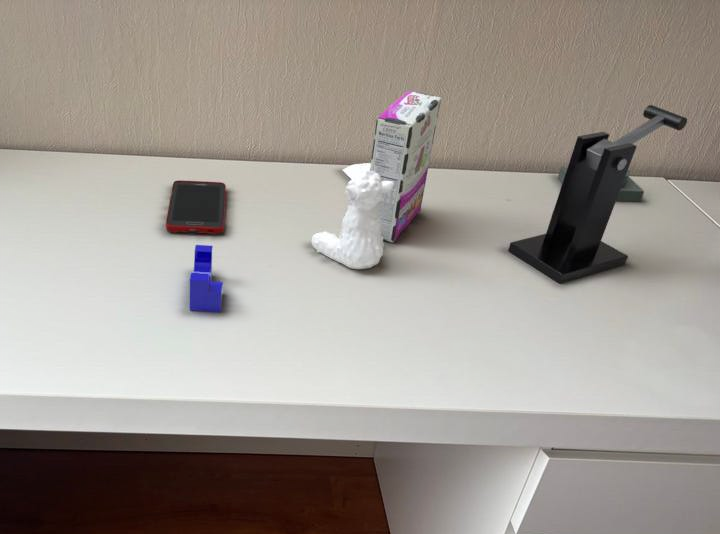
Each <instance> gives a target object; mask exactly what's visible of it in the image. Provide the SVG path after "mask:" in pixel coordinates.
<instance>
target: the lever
mask: <svg viewBox="0 0 720 534" xmlns="http://www.w3.org/2000/svg"><path fill="white" fill-rule="evenodd" d="M642 115H643V118H645V119H648V120H647V121H645V122H644V123H642V124H641V125H639V126H637V127H635V128H634V129H632V130H631V131H628V132H627V133H626V134H624V135H622V136H620V137H619V138H617V139H616V140H614V141H611V140H609V139H608V140H606V139H603V140H601V141H600V142H598V143H596V144H595V145H593V146H591V147H590V148H588V149H587V153H586V166H587V167H589V168H591V169H593V170H595V171H597V168H598V165H599V163H600V160H601V157H602V154H603V151H604V148H608V147H613V146H618V145H623V144H628V143H631V144H633V145H634V144H635V143H636V142H638V141H639V140H641V139H643V138H645V137H646V136H648V135H649V134H651V133H653V132H655V131H656V130H658V129H659V128H661V127H663V126H666V127H669V128H670V129H674V130H676V131H682V130H683V129H685V127H686V126H687V123H688V118H687V117H685V116H683V115H679V114H677V113H674V112H672V111H669V110H666V109H663V108H661V107H658V106H656V105H654V104H648V105H647V106H646V107H645V108H644V111H643V113H642Z"/></svg>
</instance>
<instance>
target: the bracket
mask: <svg viewBox="0 0 720 534" xmlns="http://www.w3.org/2000/svg"><path fill="white" fill-rule="evenodd" d="M609 137H610V134H609V133H608V132H605V131H599V132H594V133H588V134H583V135H578V136H577V138H576V141H575V143H574V147H573V150H572V153H571V156H570V159H569V161H568V165H567V167H566V168H567V171H566V174H565V177H564V180H563V183H562V182H561V183H562V184H561V187H560V189H559V192H558V196H557V199H556V202H555V205H554V208H553V211H552V214H551V218H550V220H549V223H548V226H547V229H546V233H543V234H539V235H536V236H530V237H527V238H523V239H519V240H514V241H511V242H510V243H509V246H508V249H507V250H508V252H509V253H511V254H512V255H514V256H515V257H517V258H518V259H520V260H522V261H523V262H525V263H526V264H528V265H529V266H531V267H533V268H534V269H536V270H538V271H539V272H540V273H542V274H544V275H545V276H547V277H548V278H550V279H552V280H553V281H555V282H556V283H558V284H563V283H566V282H569V281H573V280H577V279H581V278H583V277H586V276H590V275H593V274H597V273H600V272H604V271H607V270H610V269H614V268H617V267H621V266H625V265H626V263H627V260H628V258H629V255H628V254H625V253H624V252H622V251H620V250H618V249H616V248H615V247H613V246H611V245H609V244H608V243H606V242H604V241H602V239H603V237H604V234H605V232H606V229H607V226H608V224H609V221H610V218H611V216H612V213H613V210H614V207H615V205H616V203H617V201H616V200H617V197H618V195H619V192H620V189H621V187H622V184H623V181H624V179H625V176H626V173H627V171H628V170H629V169H630V165H631V163H632V160H633V157H634V155H635V152H636V150H637V145H635V144H634V143H633V144H631V143H628V144H623V145H618V146H613V147H608V148H604V151H603V154H602V157H601V160H600V163H599V165H598V168H597V171H595V170H593V169H591V168H589V167H587V166H586V153H587V149H588V148H590V147H591V146H593V145H595V144H596V143H598V142H600V141H601V140H603V139H606V140H609Z"/></svg>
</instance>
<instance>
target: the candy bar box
mask: <svg viewBox="0 0 720 534" xmlns="http://www.w3.org/2000/svg"><path fill="white" fill-rule="evenodd" d="M441 102H442V97H441V96H435V95H430V94H427V93H423V92H420V93H419V92H418V91H411V90H410V91H409V90H408V91H406V92H404V93H403V95H401V96H400V97H399V98H397V100H395V101H394V102H393V103H392V104H391V105H390V106H388V107H387V108H386V109H385V110H384V111H382V112H381V113H380V114H379V115H377V117H376V122H375V129H374V136H373V137H374V138H373V143H372V151H371V159H370V163H371V166H370V171H371V170H372V171H375V172H376V173H379V175H381V181H393V183H394V185H393V188H392V189H391V191H390V192H387V193H383V196H382V200H381V201H380V202H379V203H378V205H376V206H377V209H378V212H379V213H380V219H381V229H380V230H381V232H382V233H381V236H382V237H383V242H388V243H391V244H393V243H395V241H396V240H397V239H398V238H399V236H401V234H402V233H403V232H404V231H405V229H406V228H407V227H408V226H409V225H410V224H411V222H413V220H414V219H415V218H416V216H417V215H418V214H419V213H420V212H421V210H422V204H423V198H424V193H425V187H426V181H427V177H428V171H429V166H430V161H431V155H432V150H433V144H434V139H435V133H436V129H437V123H438V118H439V112H440V107H441Z"/></svg>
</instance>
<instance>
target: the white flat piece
mask: <svg viewBox="0 0 720 534" xmlns="http://www.w3.org/2000/svg"><path fill="white" fill-rule="evenodd" d="M370 166H371V162H367V163H365V162H363V163H354V164H351V165H348V166H347V167H345V168H343V169H342V172H343V173H344V174H345V175H346V176H347V177H348V178H349V179H350V180H352V179H353V178H354V177H355V176H356V174H357V173H358V172H362V171H367V170H368V171H370Z"/></svg>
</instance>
